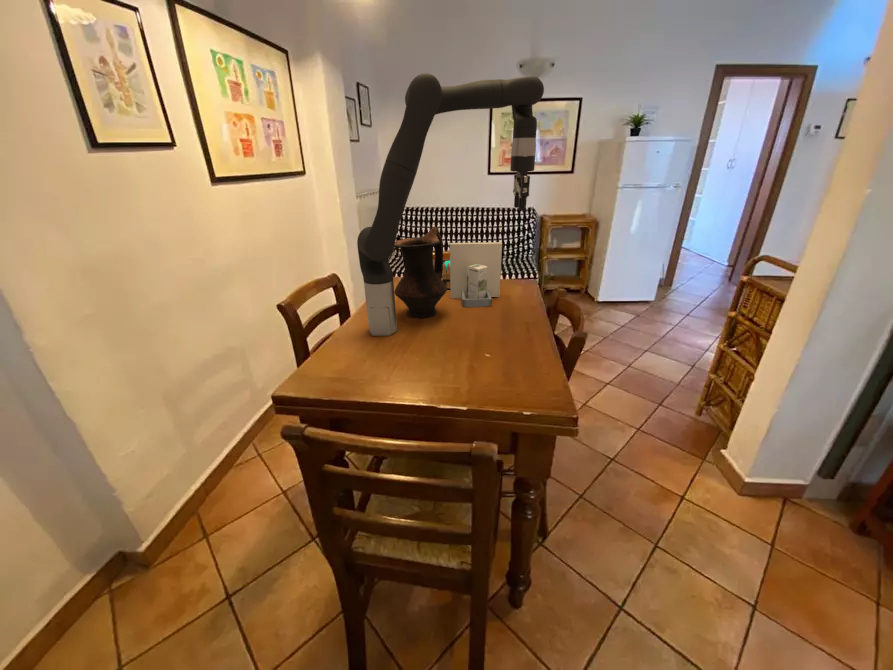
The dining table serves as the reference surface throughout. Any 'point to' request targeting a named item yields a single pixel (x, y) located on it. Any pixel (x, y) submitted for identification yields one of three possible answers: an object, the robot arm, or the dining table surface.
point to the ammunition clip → (447, 280)
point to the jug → (421, 274)
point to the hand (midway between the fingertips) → (519, 209)
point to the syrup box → (476, 281)
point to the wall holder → (471, 255)
